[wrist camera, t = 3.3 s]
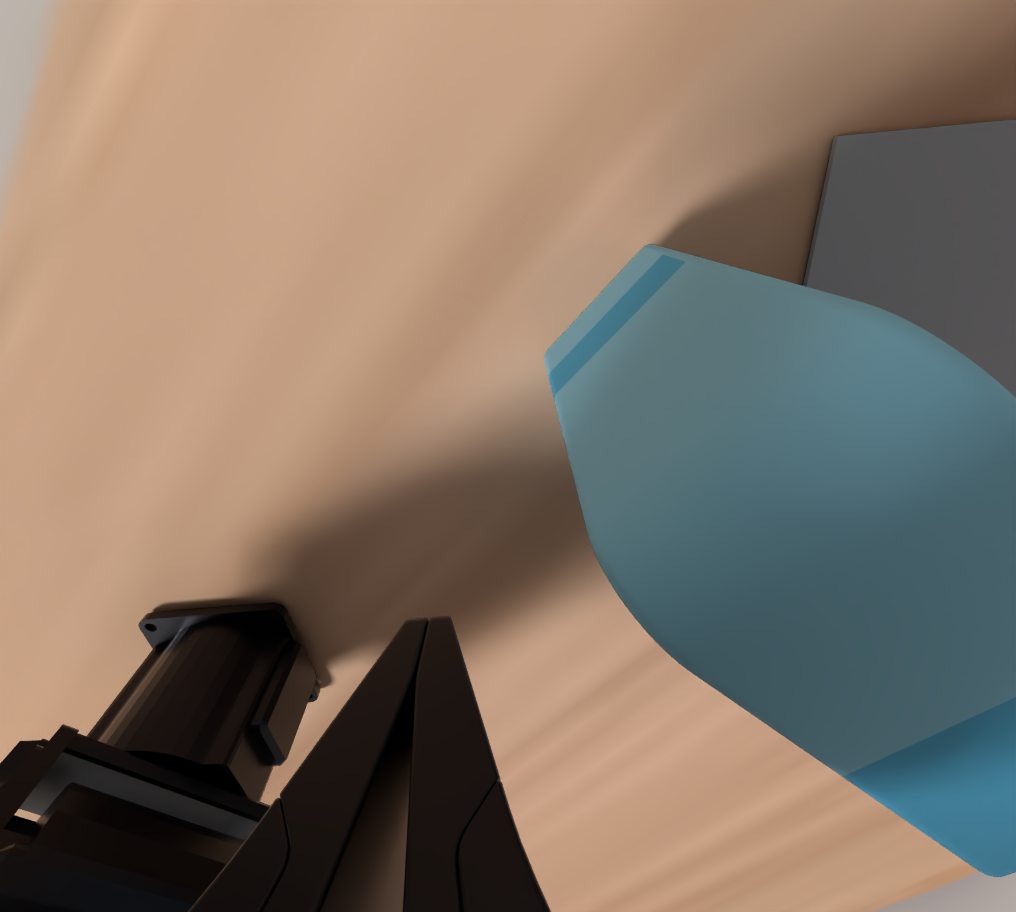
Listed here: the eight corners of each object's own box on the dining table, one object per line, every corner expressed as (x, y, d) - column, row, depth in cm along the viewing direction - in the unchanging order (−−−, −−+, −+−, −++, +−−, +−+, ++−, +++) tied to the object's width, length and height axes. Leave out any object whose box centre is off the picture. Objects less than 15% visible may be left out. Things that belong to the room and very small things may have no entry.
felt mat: (745, 565, 21) (747, 568, 21) (833, 136, 13) (838, 136, 13) (1015, 542, 21) (1020, 545, 21) (1260, 96, 13) (1270, 95, 13)
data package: (537, 345, 16) (599, 620, 5) (637, 235, 14) (999, 326, 4) (744, 530, 20) (1016, 903, 9) (841, 460, 18) (1304, 814, 8)
